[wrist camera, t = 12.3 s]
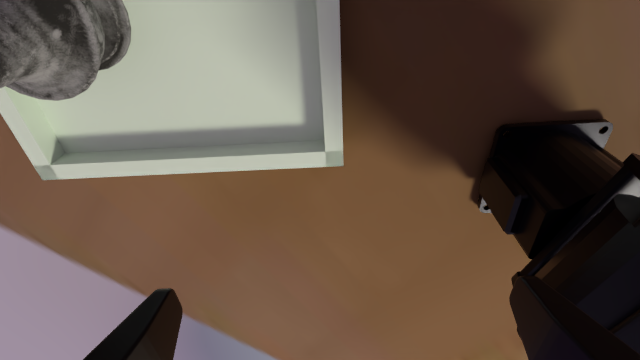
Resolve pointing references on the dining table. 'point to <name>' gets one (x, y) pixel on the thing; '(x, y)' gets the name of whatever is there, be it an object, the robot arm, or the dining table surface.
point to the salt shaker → (60, 44)
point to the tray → (198, 95)
